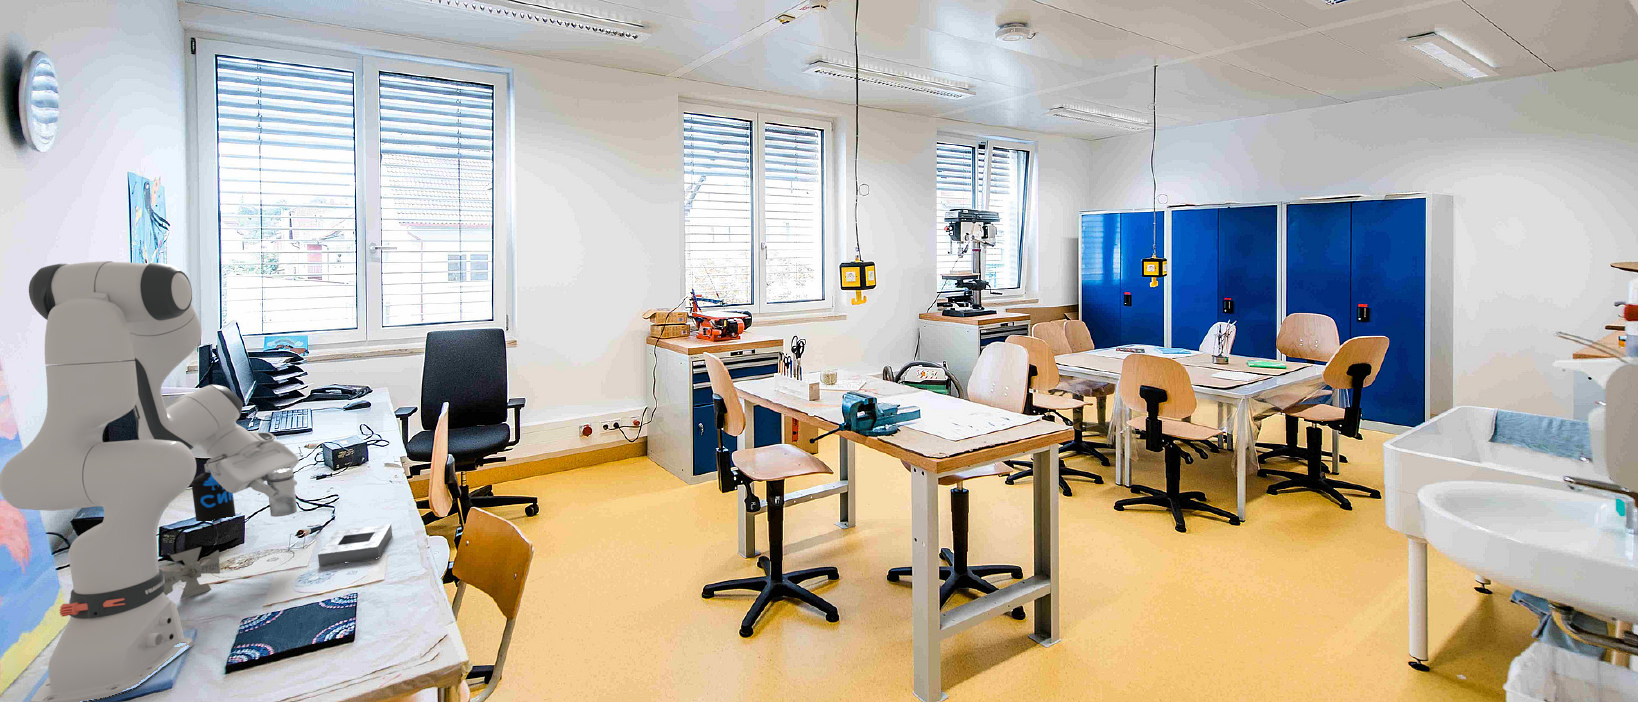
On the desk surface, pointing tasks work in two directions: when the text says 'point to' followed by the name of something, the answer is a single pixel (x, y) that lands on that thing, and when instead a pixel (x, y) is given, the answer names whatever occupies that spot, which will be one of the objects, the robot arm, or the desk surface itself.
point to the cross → (191, 572)
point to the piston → (282, 492)
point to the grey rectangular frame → (355, 545)
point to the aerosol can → (211, 498)
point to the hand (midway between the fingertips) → (284, 490)
